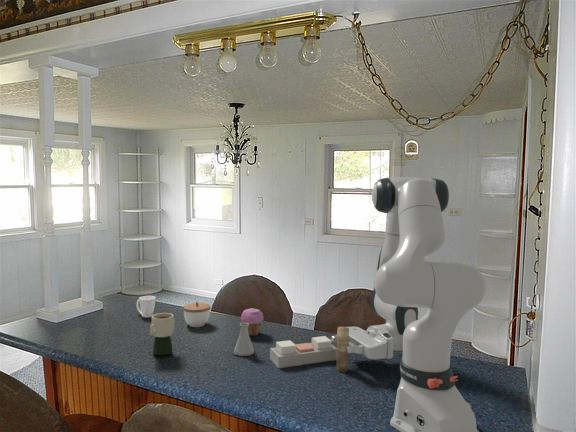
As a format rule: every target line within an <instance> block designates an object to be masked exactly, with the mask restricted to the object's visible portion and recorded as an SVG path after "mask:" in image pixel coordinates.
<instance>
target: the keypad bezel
mask: <svg viewBox="0 0 576 432" xmlns="http://www.w3.org/2000/svg"><path fill="white" fill-rule="evenodd" d="M308 343H309V344H310V345H311V346H312V342H308ZM312 347H313V346H312ZM269 359H270V361H271V362H272V363H273V364H274V365H275V366H276V367H277V369H283V368H290V367H291V368H292V367H297V366H303V365H310V364H317V363H324V362H332V361H336V360H337V346H334V345H333V344H332V348H330V349H323V350H317V349H315V348H314V351H308V352H301V353H299V352H298V351H297V350H296V353H294V354H286V355H280V354H279V353H278V352H277V351H276V346H275V347H270V348H269Z"/></svg>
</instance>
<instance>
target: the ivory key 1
mask: <svg viewBox="0 0 576 432" xmlns="http://www.w3.org/2000/svg"><path fill="white" fill-rule="evenodd" d="M275 347H276V351H277V352H278V353H279V354H280V355H286V354H294V353H296V345H295V343H294V342H293V341H291V340H290V339H289V340H282V341H276V342H275Z"/></svg>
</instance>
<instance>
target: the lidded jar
mask: <svg viewBox="0 0 576 432" xmlns="http://www.w3.org/2000/svg"><path fill="white" fill-rule="evenodd" d="M210 314H211V305H210V304H209V303H205V302H198V301H195V302H191V303H187V304H185V305H184V306H183V316H184V320H185V322H186V323H187V325H188V326H189V327H192V328H200V327H203V326H205V324H207V322H208V321H209V319H210V316H211V315H210Z"/></svg>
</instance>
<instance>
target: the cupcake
mask: <svg viewBox="0 0 576 432" xmlns="http://www.w3.org/2000/svg"><path fill="white" fill-rule="evenodd" d="M240 321H241V323H249V326H248V333H249V336H254V337H256V336H258V335H259V333H260V329H261V325H262V323H263V321H264V313H263V312H262V311H261V310H260V309H257V308H254V307H251V308H246V309H244V310H243V312H242V313H241V316H240Z"/></svg>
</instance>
